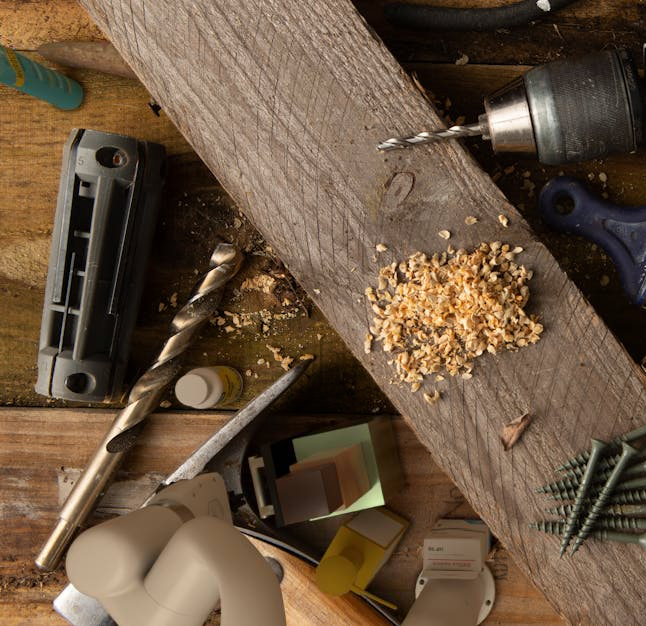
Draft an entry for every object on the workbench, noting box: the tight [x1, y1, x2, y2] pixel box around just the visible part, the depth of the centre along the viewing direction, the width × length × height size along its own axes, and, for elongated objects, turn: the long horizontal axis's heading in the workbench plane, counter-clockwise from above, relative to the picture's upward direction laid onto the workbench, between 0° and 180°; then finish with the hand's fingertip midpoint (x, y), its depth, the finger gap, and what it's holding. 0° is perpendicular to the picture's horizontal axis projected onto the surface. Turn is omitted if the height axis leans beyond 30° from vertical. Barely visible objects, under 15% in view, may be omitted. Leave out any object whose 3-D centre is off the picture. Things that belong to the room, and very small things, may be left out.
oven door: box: [247, 427, 320, 528], centre depth 121 cm, size 5×12×13 cm, turn 12°
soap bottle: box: [315, 505, 411, 611], centre depth 115 cm, size 7×13×24 cm, turn 60°
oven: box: [292, 412, 406, 522], centre depth 120 cm, size 11×12×13 cm
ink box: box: [420, 518, 491, 579], centre depth 120 cm, size 9×5×15 cm, turn 89°
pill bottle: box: [174, 365, 244, 410], centre depth 121 cm, size 6×6×11 cm
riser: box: [290, 443, 371, 512], centre depth 108 cm, size 7×6×12 cm
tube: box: [0, 43, 84, 111], centre depth 117 cm, size 7×5×19 cm, turn 32°
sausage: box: [37, 40, 140, 81], centre depth 124 cm, size 6×18×6 cm
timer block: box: [275, 462, 343, 525], centre depth 99 cm, size 6×6×6 cm
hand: (234, 500), depth 110 cm, fingers closed
